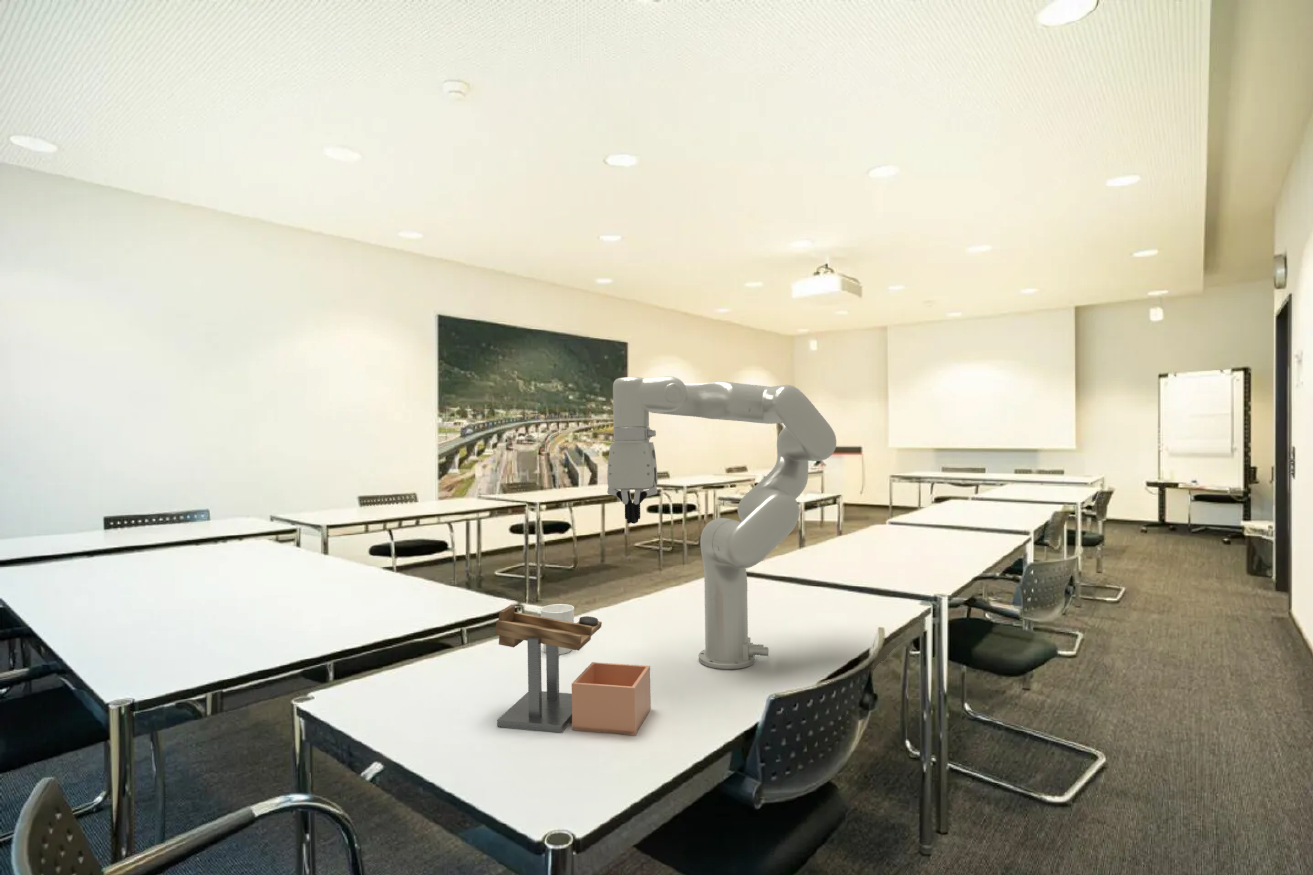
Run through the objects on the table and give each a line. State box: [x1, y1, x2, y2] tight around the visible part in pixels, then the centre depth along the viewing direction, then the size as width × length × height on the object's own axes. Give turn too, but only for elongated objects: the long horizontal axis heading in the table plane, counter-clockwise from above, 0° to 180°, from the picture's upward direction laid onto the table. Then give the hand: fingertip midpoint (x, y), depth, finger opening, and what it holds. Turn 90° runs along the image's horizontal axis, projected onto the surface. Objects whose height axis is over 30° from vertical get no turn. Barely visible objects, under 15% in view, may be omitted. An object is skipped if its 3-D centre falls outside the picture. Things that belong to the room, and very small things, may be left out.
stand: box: [496, 637, 572, 733], centre depth 125 cm, size 12×14×15 cm
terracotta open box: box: [571, 661, 652, 736], centre depth 122 cm, size 11×11×8 cm
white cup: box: [540, 603, 575, 655], centre depth 162 cm, size 8×8×10 cm
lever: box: [494, 604, 603, 651], centre depth 129 cm, size 16×15×6 cm
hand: (632, 522), depth 145 cm, fingers closed
